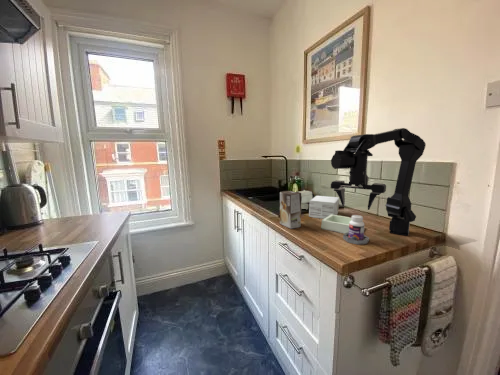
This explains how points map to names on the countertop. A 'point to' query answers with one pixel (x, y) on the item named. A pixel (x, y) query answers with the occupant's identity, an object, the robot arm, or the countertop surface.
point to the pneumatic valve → (305, 198)
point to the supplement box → (323, 206)
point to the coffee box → (290, 209)
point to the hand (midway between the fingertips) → (355, 207)
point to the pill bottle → (356, 227)
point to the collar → (355, 241)
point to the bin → (336, 223)
